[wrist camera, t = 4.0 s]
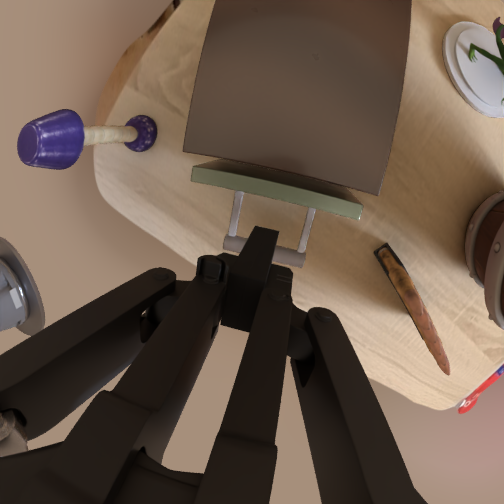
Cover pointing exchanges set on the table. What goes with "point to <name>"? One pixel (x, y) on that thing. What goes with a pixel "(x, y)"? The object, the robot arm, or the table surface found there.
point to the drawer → (278, 188)
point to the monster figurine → (477, 65)
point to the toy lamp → (77, 138)
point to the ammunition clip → (412, 303)
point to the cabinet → (302, 87)
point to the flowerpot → (488, 253)
